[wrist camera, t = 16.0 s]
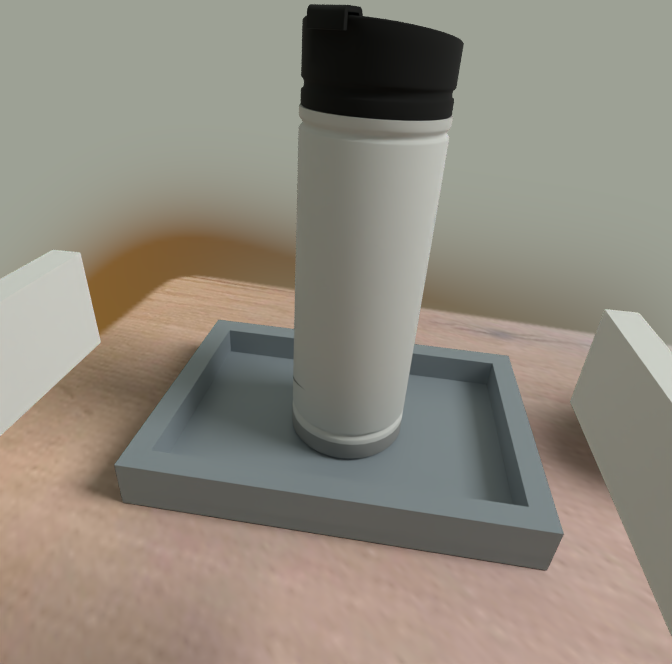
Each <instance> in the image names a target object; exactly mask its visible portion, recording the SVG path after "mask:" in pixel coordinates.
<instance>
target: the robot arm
mask: <svg viewBox="0 0 672 664" xmlns="http://www.w3.org/2000/svg"><path fill="white" fill-rule="evenodd" d="M100 343H101V341H100V337H99V333H98V328H97V324H96V320H95V315H94V311H93V306H92V302H91V297H90V293H89V289H88V285H87V280H86V275H85V271H84V267H83V262H82V258H81V254H80V253H78V252H69V251H60V250H52V251H50V252H48V253H46V254H44V255H43V256H41V257H39V258H37V259H36V260H34V261H32V262H30V263H28V264H26V265H25V266H23V267H21V268H19V269H17V270H15V271H14V272H12V273H10V274H8V275H6V276H5V277H3V278H1V279H0V436H1V435H2V434H3V433H4V432H5V431H6V430H7V429H8V428H9V427H10V426H12V425H13V424H14V423H15V422H16V421H17V420H18V419H19V418H20V417H21V416H22V415H23V414H24V413H26V412H27V411H28V410H29V409H30V408H31V407H32V406H33V405H34V404H35V403H36V402H37V401H38V400H39V399H41V398H42V397H43V396H44V395H45V394H46V393H47V392H48V391H49V390H50V389H51V388H52V387H53V386H55V385H56V384H57V383H58V382H59V381H60V380H61V379H62V378H63V377H64V376H65V375H66V374H67V373H68V372H70V371H71V370H72V369H73V368H74V367H75V366H76V365H77V364H78V363H79V362H80V361H81V360H82V359H83V358H85V357H86V356H87V355H88V354H89V353H90V352H91V351H92V350H93V349H94V348H95V347H96V346H97V345H99V344H100ZM570 403H571V405H572V407H573V410H574V412H575V414H576V417H577V419H578V421H579V423H580V426H581V428H582V430H583V433H584V435H585V437H586V440H587V442H588V444H589V447H590V449H591V451H592V454H593V456H594V458H595V460H596V463H597V465H598V467H599V470H600V472H601V474H602V477H603V479H604V481H605V484H606V486H607V488H608V491H609V493H610V495H611V497H612V500H613V502H614V504H615V507H616V509H617V511H618V514H619V516H620V518H621V521H622V523H623V525H624V528H625V530H626V532H627V534H628V537H629V539H630V541H631V544H632V546H633V548H634V551H635V553H636V555H637V558H638V560H639V562H640V565H641V567H642V569H643V571H644V574H645V576H646V578H647V581H648V583H649V585H650V588H651V590H652V592H653V595H654V597H655V599H656V602H657V604H658V606H659V609H660V611H661V613H662V615H663V618H664V620H665V622H666V625H667V627H668V629H669V632H670V634H671V636H672V352H671V351H670V349H669V348H668V347H667V346H666V345H665V343H664V342H663V341H662V340H661V339H660V337H659V336H658V335H657V334H656V333H655V331H654V330H653V329H652V328H651V327H650V325H648V323H647V322H646V321H645V320H644V318H643V317H642V316H641V315H640V314H639V313H636V312H626V311H616V310H607V309H605V310H604V313H603V315H602V318H601V321H600V323H599V326H598V329H597V331H596V334H595V337H594V339H593V342H592V345H591V347H590V350H589V353H588V355H587V358H586V360H585V363H584V366H583V368H582V371H581V374H580V376H579V379H578V382H577V384H576V387H575V390H574V392H573V395H572V398H571V400H570Z"/></svg>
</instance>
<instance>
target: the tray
mask: <svg viewBox="0 0 672 664" xmlns="http://www.w3.org/2000/svg"><path fill="white" fill-rule="evenodd" d="M293 365H294V329H289V328H281V327H273V326H265V325H257V324H249V323H241V322H233V321H225V320H218V321H217V323H216V324H215V325H214V327H213V328H212V330H211V331H210V332H209V334H208V335H207V337H206V338H205V339H204V341H203V342H202V344H201V345H200V346H199V348H198V349H197V350H196V352H195V353H194V355H193V356H192V357H191V359H190V360H189V362H188V363H187V364H186V366H185V367H184V369H183V370H182V371H181V373H180V374H179V376H178V377H177V378H176V380H175V381H174V382H173V384H172V385H171V387H170V388H169V389H168V391H167V392H166V394H165V395H164V396H163V398H162V399H161V401H160V402H159V403H158V405H157V406H156V408H155V409H154V410H153V412H152V413H151V414H150V416H149V417H148V419H147V420H146V421H145V423H144V424H143V426H142V427H141V428H140V430H139V431H138V433H137V434H136V435H135V437H134V438H133V439H132V441H131V442H130V444H129V445H128V446H127V448H126V449H125V451H124V452H123V453H122V455H121V456H120V458H119V459H118V460H117V462H116V463H115V465H114V466H115V471H116V475H117V479H118V484H119V488H120V492H121V497H122V501H123V502H124V503H130V504H137V505H143V506H149V507H155V508H162V509H168V510H174V511H180V512H187V513H193V514H199V515H205V516H211V517H218V518H224V519H230V520H236V521H243V522H249V523H255V524H261V525H268V526H274V527H280V528H286V529H293V530H299V531H305V532H311V533H317V534H324V535H330V536H336V537H342V538H349V539H355V540H361V541H367V542H374V543H380V544H386V545H392V546H398V547H405V548H411V549H417V550H423V551H430V552H436V553H442V554H448V555H455V556H461V557H467V558H473V559H479V560H486V561H492V562H498V563H504V564H511V565H517V566H523V567H529V568H536V569H542V570H547V569H548V567H549V565H550V563H551V561H552V558H553V556H554V554H555V552H556V550H557V548H558V545H559V543H560V541H561V539H562V537H563V535H564V533H563V530H562V527H561V524H560V521H559V517H558V514H557V511H556V508H555V504H554V501H553V498H552V495H551V492H550V488H549V485H548V482H547V479H546V476H545V472H544V469H543V466H542V463H541V459H540V456H539V453H538V450H537V447H536V443H535V440H534V437H533V434H532V430H531V427H530V424H529V421H528V418H527V414H526V411H525V408H524V405H523V402H522V398H521V395H520V392H519V389H518V385H517V382H516V379H515V376H514V373H513V369H512V366H511V363H510V360H509V356H505V355H497V354H489V353H481V352H473V351H465V350H457V349H449V348H441V347H433V346H425V345H417V344H414V349H413V355H412V361H411V366H410V372H409V378H408V384H407V390H406V396H405V402H404V408H403V414H402V420H401V425H400V431H399V434H398V436H397V438H396V440H395V441H394V442H393V443H392V444H391V445H390V446H389V447H388V448H386V449H385V450H383V451H382V452H380V453H377V454H375V455H373V456H368V457H364V458H355V459H347V458H337V457H333V456H329V455H326V454H323V453H320V452H318V451H316V450H315V449H313V448H311V447H310V446H308V445H307V444H306V443H305V442H304V441H303V440H302V439H301V438H300V437H299V435H298V434H297V433H296V431H295V428H294V426H293V420H292V410H293Z"/></svg>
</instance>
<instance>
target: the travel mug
mask: <svg viewBox="0 0 672 664" xmlns="http://www.w3.org/2000/svg"><path fill="white" fill-rule="evenodd" d="M463 44H464V43H463V42H462V41H461V40H460V39H459V38H457V37H455V36H453V35H450V34H447V33H444V32H441V31H438V30H434V29H431V28H426V27H422V26H418V25H414V24H409V23H404V22H398V21H392V20H386V19H380V18H373V17H365V16H363V14H362V9H361V7H357V6H351V5H316V4H315V5H313V4H311V5H309V6H308V9H307V16H305V17H304V18H303V26H302V67H301V71H302V72H301V76H302V77H303V79H304V86H303V87H302V88H301V104H300V105H299V116H300V118H301V119H302V121H303V122H302V123H301V124H300V126H299V138H298V140H299V141H298V184H297V189H298V190H297V230H296V275H295V276H296V277H295V320H294V365H293V410H292V420H293V426H294V428H295V431H296V433H297V434H298V435H299V437H300V438H301V439H302V440H303V441H304V442H305V443H306V444H307V445H308V446H310V447H311V448H313V449H315V450H316V451H318V452H320V453H323V454H326V455H329V456H333V457H337V458H347V459H355V458H364V457H368V456H373V455H375V454H377V453H380V452H382V451H383V450H385V449H386V448H388V447H389V446H390V445H391V444H392V443H393V442H394V441H395V440H396V438H397V436H398V434H399V431H400V425H401V420H402V414H403V408H404V402H405V396H406V390H407V384H408V378H409V372H410V366H411V361H412V355H413V349H414V343H415V337H416V331H417V325H418V319H419V313H420V307H421V301H422V296H423V290H424V284H425V278H426V272H427V266H428V260H429V254H430V248H431V242H432V237H433V231H434V224H435V219H436V213H437V207H438V201H439V195H440V189H441V184H442V178H443V172H444V166H445V159H446V153H447V148H448V142H449V136H448V135H447V131H448V130H450V128H451V125H452V119H453V116H452V110H453V104H454V99H453V98H452V93H453V90H455V89H456V86H457V80H458V74H459V68H460V62H461V56H462V51H463Z"/></svg>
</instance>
